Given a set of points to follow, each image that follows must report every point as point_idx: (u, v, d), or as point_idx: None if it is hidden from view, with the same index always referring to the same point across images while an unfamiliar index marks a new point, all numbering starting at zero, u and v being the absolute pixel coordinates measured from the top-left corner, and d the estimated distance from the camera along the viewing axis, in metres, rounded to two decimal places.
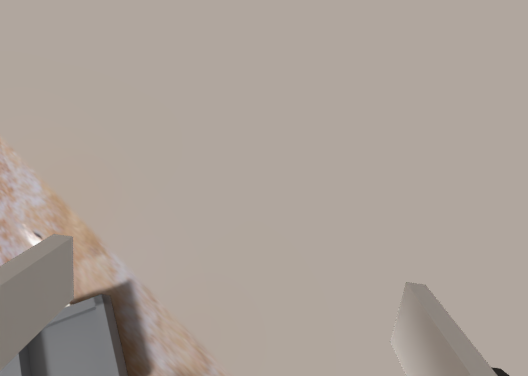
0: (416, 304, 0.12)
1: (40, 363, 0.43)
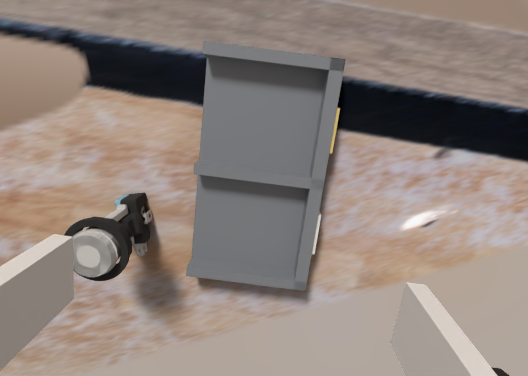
0: (416, 304, 0.12)
1: (267, 190, 0.34)
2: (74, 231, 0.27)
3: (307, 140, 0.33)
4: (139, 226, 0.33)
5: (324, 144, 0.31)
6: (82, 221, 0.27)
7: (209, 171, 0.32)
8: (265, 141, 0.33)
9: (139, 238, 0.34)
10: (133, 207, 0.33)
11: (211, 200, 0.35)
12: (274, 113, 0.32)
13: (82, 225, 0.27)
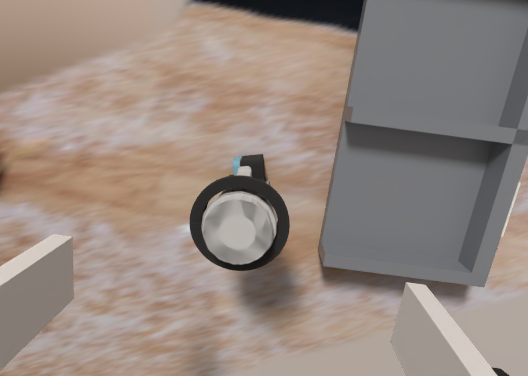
0: (416, 304, 0.12)
1: (436, 149, 0.25)
2: (211, 195, 0.18)
3: (502, 78, 0.24)
4: None
5: None
6: (225, 179, 0.18)
7: (373, 118, 0.23)
8: (443, 80, 0.24)
9: None
10: (258, 170, 0.24)
11: (357, 163, 0.25)
12: (460, 39, 0.23)
13: (224, 186, 0.18)
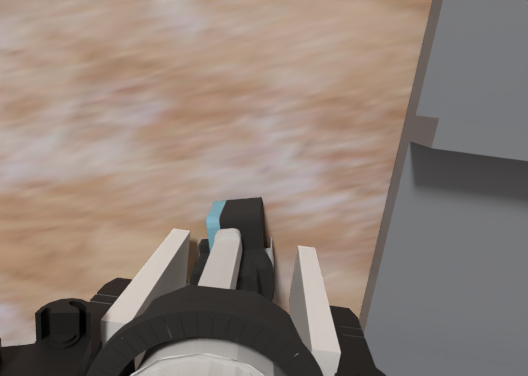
0: (298, 261, 0.14)
1: None
2: (130, 354, 0.07)
3: None
4: (273, 286, 0.13)
5: None
6: (166, 317, 0.07)
7: (477, 141, 0.12)
8: None
9: None
10: (253, 234, 0.13)
11: (429, 217, 0.14)
12: None
13: (164, 332, 0.07)
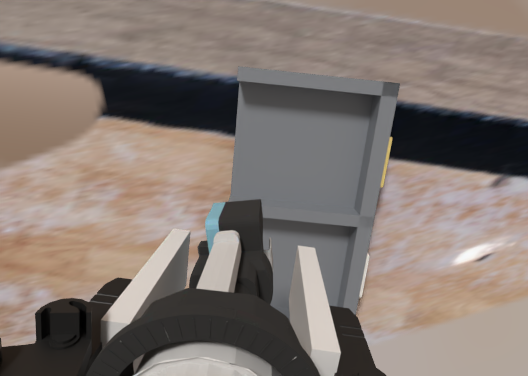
0: (298, 261, 0.14)
1: (306, 227, 0.31)
2: (129, 358, 0.07)
3: (352, 171, 0.29)
4: (272, 288, 0.13)
5: (374, 178, 0.27)
6: (164, 321, 0.07)
7: None
8: (305, 174, 0.29)
9: None
10: (252, 236, 0.13)
11: None
12: (315, 143, 0.29)
13: (162, 336, 0.07)
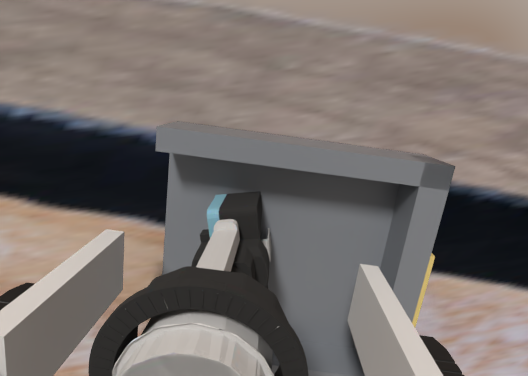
0: (365, 282, 0.13)
1: None
2: (132, 323, 0.08)
3: None
4: (268, 273, 0.13)
5: None
6: (163, 292, 0.08)
7: None
8: (282, 294, 0.18)
9: None
10: (250, 225, 0.14)
11: None
12: (299, 247, 0.17)
13: (161, 305, 0.08)
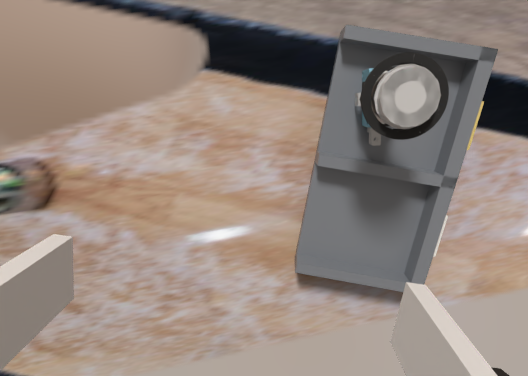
0: (416, 304, 0.12)
1: (386, 186, 0.32)
2: (385, 68, 0.22)
3: (436, 135, 0.31)
4: None
5: (462, 140, 0.29)
6: (399, 54, 0.21)
7: (334, 163, 0.30)
8: None
9: None
10: None
11: (325, 194, 0.33)
12: None
13: (397, 60, 0.21)
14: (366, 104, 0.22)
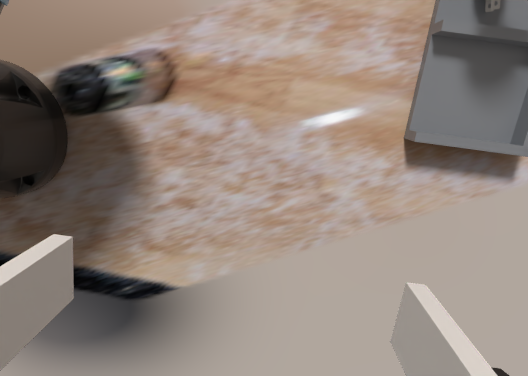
0: (416, 304, 0.12)
1: (497, 56, 0.35)
2: None
3: None
4: None
5: None
6: None
7: (457, 27, 0.32)
8: (504, 3, 0.34)
9: None
10: None
11: (439, 67, 0.35)
12: None
13: None
14: None
